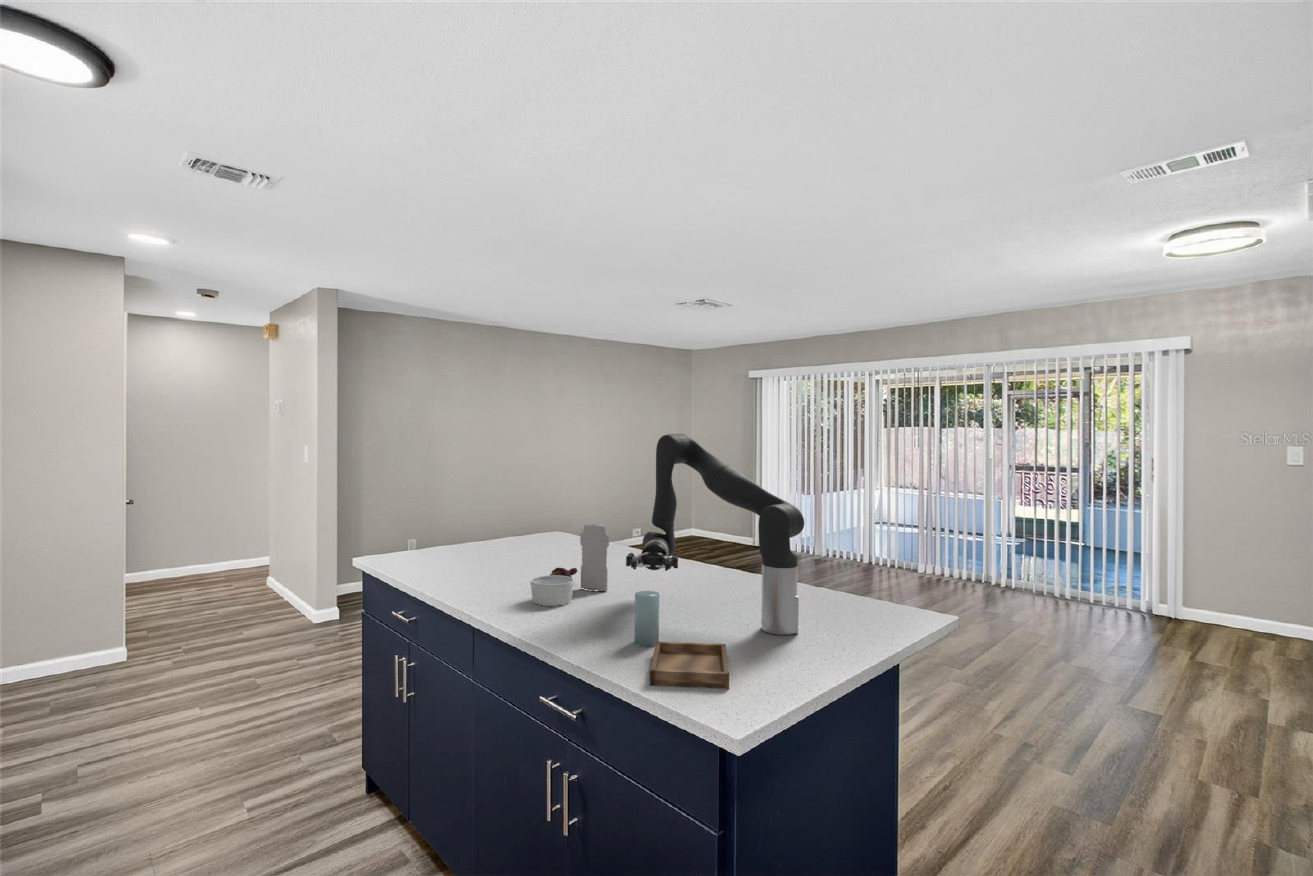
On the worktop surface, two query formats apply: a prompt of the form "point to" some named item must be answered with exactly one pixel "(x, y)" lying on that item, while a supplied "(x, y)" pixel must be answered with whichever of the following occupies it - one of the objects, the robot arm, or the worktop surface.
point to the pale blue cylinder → (646, 618)
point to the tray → (690, 665)
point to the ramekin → (552, 590)
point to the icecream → (564, 572)
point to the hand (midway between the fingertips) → (650, 566)
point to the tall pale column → (594, 557)
